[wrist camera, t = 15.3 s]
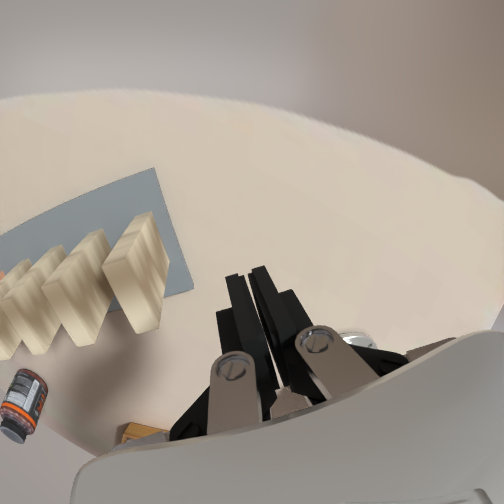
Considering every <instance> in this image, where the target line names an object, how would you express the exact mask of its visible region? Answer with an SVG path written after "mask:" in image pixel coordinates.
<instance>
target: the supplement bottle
mask: <svg viewBox="0 0 504 504" xmlns="http://www.w3.org/2000/svg"><path fill="white" fill-rule="evenodd" d="M47 392H48V389H47V386H46V384H45V383H44V381H43V380H42V379H41V378H40V377H39V376H38V375H36V374H35V373H34V372H31V371H29V370H26V369H20V370H19V371H18V372H17V373H16V375H15V377H14V379H13V381H12V383H11V385H10V387H9V389H8V391H7V394H6V396H5V398H4V401H3V403H2V405H1V408H0V414H1V417H2V419H3V421H2V422H1V426H0V430H1V431H2V432H3V433H4V434H5V435H6V436H7V437H8V438H9V439H11V440H13V441H15V442H17V443H20V444H23V443H24V441H25V439H26V436H27V435H30V434H33V433H34V431H35V428H36V426H37V422H38V419H39V416H40V413H41V410H42V407H43V404H44V402H45V399H46V396H47Z"/></svg>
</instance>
